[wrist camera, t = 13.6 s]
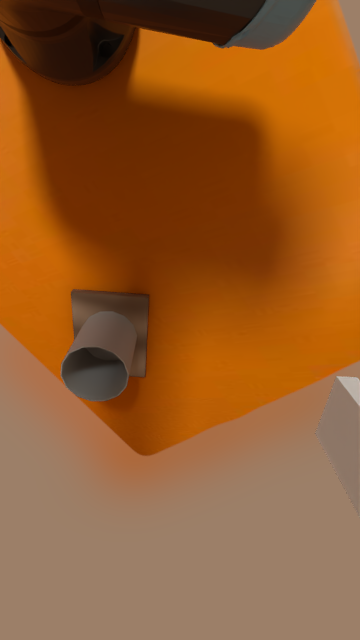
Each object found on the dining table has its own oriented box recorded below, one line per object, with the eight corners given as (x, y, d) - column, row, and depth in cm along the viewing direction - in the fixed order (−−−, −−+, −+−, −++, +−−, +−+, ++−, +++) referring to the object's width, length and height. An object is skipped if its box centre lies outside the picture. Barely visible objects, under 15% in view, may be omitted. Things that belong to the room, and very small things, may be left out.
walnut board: (73, 289, 46) (71, 292, 45) (148, 294, 47) (148, 297, 46) (78, 368, 52) (76, 373, 51) (145, 372, 53) (144, 377, 52)
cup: (100, 366, 51) (84, 409, 42) (70, 325, 47) (46, 363, 38) (146, 345, 49) (140, 386, 40) (119, 302, 46) (105, 335, 37)
